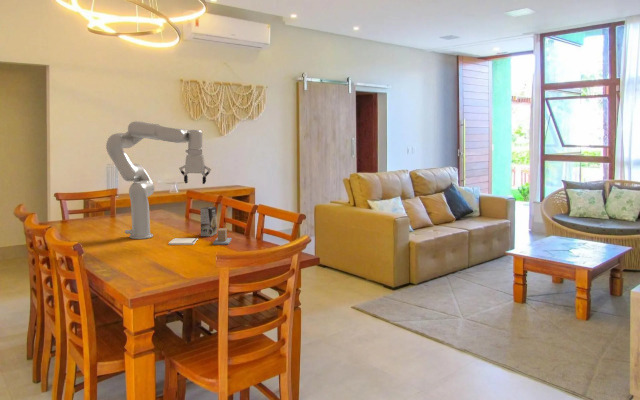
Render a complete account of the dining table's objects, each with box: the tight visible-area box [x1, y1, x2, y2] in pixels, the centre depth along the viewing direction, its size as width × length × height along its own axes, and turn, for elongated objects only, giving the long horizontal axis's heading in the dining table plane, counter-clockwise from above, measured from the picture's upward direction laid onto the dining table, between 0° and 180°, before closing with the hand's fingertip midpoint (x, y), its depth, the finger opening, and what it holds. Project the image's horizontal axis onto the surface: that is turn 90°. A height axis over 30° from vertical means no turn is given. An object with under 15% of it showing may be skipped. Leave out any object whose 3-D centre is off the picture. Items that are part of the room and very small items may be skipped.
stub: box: [212, 227, 233, 245], centre depth 266 cm, size 8×12×7 cm, turn 2°
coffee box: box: [200, 206, 218, 237], centre depth 285 cm, size 9×6×16 cm
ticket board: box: [168, 237, 199, 246], centre depth 266 cm, size 13×12×1 cm
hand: (195, 183), depth 272 cm, fingers open, 9 cm apart
